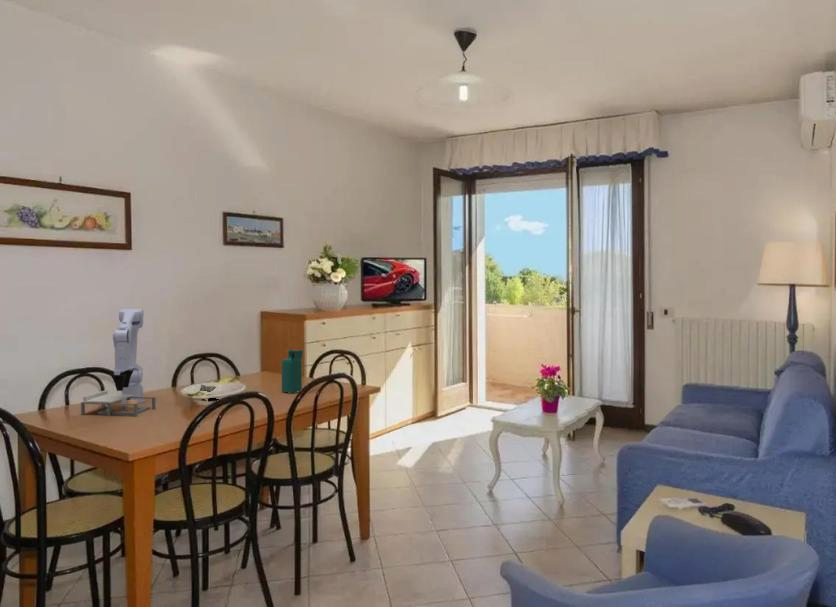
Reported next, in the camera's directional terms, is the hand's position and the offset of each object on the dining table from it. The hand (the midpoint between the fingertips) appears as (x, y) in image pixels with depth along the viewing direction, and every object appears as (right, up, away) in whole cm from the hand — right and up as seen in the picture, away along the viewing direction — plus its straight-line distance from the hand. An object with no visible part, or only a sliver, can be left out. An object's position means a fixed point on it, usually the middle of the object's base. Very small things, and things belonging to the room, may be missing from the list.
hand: (122, 389), depth 256 cm
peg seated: (-3, -10, +1) cm, 10 cm away
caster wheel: (+29, -10, +30) cm, 43 cm away
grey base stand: (-2, -10, +1) cm, 10 cm away
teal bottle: (+63, -9, +51) cm, 81 cm away
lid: (-6, -4, +1) cm, 8 cm away
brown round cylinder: (+4, -10, 0) cm, 11 cm away
